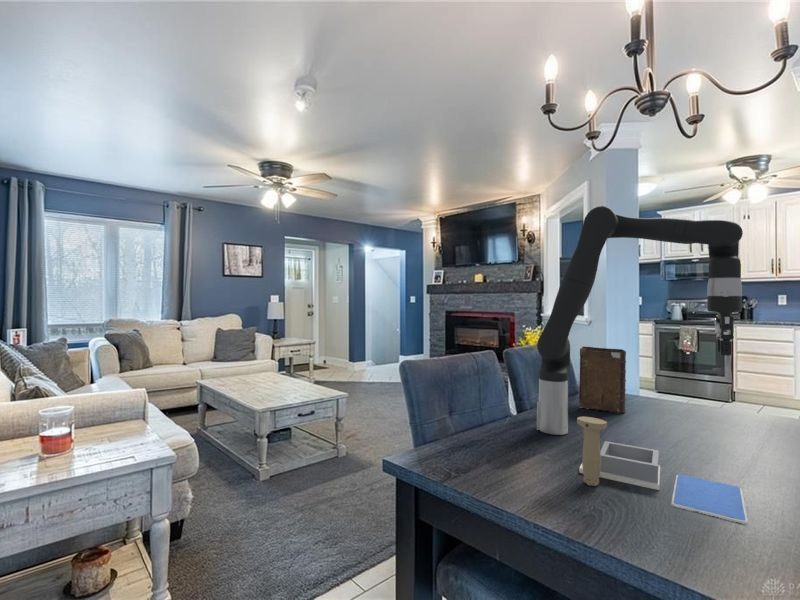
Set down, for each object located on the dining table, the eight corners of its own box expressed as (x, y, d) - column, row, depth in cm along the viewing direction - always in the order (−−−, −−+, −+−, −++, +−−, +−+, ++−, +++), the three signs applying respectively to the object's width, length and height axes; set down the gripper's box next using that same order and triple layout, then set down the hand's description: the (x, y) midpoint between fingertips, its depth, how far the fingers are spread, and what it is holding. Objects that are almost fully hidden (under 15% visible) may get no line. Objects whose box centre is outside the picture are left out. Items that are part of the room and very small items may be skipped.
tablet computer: (748, 528, 79) (748, 522, 79) (670, 508, 86) (670, 502, 86) (741, 492, 94) (741, 486, 94) (676, 478, 102) (676, 472, 102)
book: (626, 411, 163) (627, 349, 163) (624, 415, 157) (624, 350, 157) (581, 405, 173) (582, 346, 173) (577, 408, 167) (578, 347, 167)
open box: (579, 472, 103) (579, 451, 103) (588, 456, 114) (588, 437, 114) (659, 490, 94) (659, 467, 94) (660, 470, 105) (660, 450, 105)
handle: (600, 491, 93) (600, 425, 93) (573, 481, 98) (573, 418, 98) (609, 485, 96) (610, 421, 96) (582, 476, 101) (583, 415, 101)
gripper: (705, 295, 121) (705, 350, 121) (709, 294, 109) (709, 355, 109) (738, 295, 117) (737, 352, 117) (746, 294, 105) (745, 357, 105)
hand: (723, 353), depth 113 cm, fingers open, 8 cm apart
